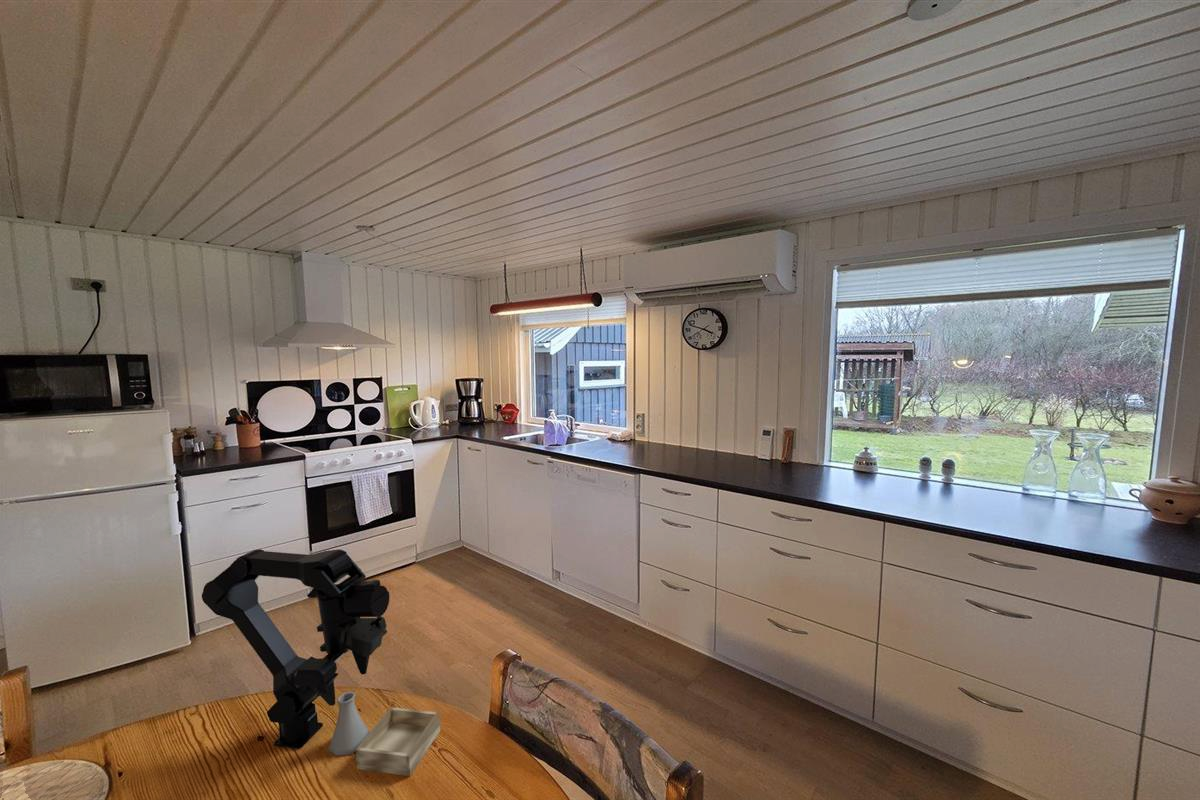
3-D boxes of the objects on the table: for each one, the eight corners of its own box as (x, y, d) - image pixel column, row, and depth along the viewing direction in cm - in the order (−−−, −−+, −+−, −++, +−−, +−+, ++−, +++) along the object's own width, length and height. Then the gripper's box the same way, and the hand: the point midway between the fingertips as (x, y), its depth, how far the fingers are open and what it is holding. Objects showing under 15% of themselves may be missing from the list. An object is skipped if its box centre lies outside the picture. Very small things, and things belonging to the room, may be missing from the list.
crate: (357, 768, 92) (355, 749, 91) (392, 724, 103) (390, 707, 102) (410, 776, 90) (408, 756, 89) (440, 730, 101) (439, 712, 100)
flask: (352, 759, 94) (348, 712, 93) (321, 754, 96) (317, 707, 95) (376, 731, 101) (373, 686, 100) (347, 726, 103) (343, 683, 102)
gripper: (339, 643, 85) (352, 725, 86) (400, 592, 104) (410, 660, 105) (286, 642, 87) (299, 723, 89) (355, 592, 106) (365, 659, 107)
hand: (348, 688), depth 97 cm, fingers open, 9 cm apart
